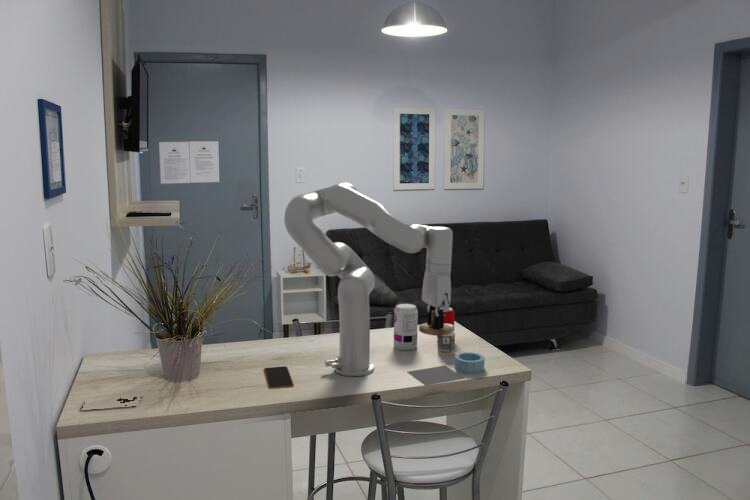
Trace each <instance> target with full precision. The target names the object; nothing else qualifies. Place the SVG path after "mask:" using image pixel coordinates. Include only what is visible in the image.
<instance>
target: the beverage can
mask: <svg viewBox="0 0 750 500" xmlns="http://www.w3.org/2000/svg"><path fill="white" fill-rule="evenodd" d="M440 309H442V308H439V310H440ZM455 315H456V314H455V311H454V309H453V308H452V307H449V311H448V312H446V313H445V316H444V324H452V325H453V326H454V327H455V318H456V317H455ZM453 331H454V332H455V328H454V329H453ZM436 338H437V339H438V336H436Z"/></svg>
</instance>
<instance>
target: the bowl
mask: <svg viewBox="0 0 750 500" xmlns="http://www.w3.org/2000/svg"><path fill="white" fill-rule="evenodd" d="M454 369H455V370H456V371H458V372H461V373H465V374H479V373H482V372H483V371H484V369H485V356H484V355H483V354H481V353H477V352H472V351H463V352H458V353H456V354H455V355H454Z"/></svg>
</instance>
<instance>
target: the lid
mask: <svg viewBox="0 0 750 500" xmlns="http://www.w3.org/2000/svg"><path fill="white" fill-rule="evenodd" d="M434 316H436V315H435V310H433V311H431V325H430V326H429V325H428V324H427V323H428V322H424V323H422V324H420V325H418V331H419V332H420V333H421V334H425V335H428V336H436V337H437V336H442V335H448V334H450V333H451V332H452V328H451V327H450V326H449V325H446V324H444V327H443V328H441V329H434Z"/></svg>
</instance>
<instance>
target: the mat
mask: <svg viewBox="0 0 750 500" xmlns="http://www.w3.org/2000/svg"><path fill="white" fill-rule="evenodd" d="M406 373H408V375H411V376H412V377H413V379H416V381H418V382H420V383H422V384H423V385H424V386H425V387H426V386H430V385H436V384H442V383H446V382H447V383H449V382H453V381H458V380H464V379H466V378H465V377H464V376H463V375H461V374H460V373H458V372H456V371H454V370H453V369H451V368H450V367H448V366H447V365H439V366H434V367H428V368H421V369H417V370H410V371H406Z"/></svg>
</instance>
